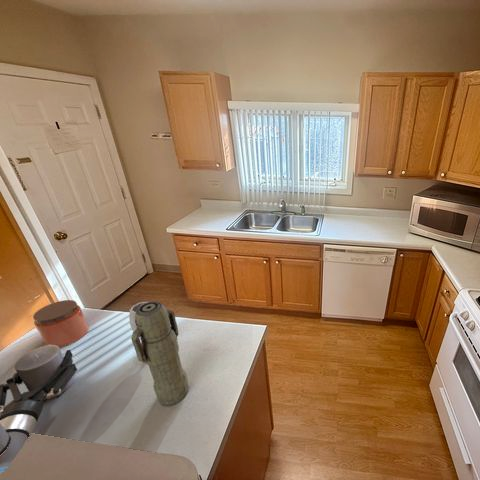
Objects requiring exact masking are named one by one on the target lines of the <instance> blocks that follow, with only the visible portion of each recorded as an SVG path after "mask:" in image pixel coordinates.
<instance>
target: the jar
mask: <svg viewBox="0 0 480 480" xmlns="http://www.w3.org/2000/svg"><path fill="white" fill-rule="evenodd" d="M82 310H83V309H82V308H81V306H80V305H78V303H77V301H75V300H73V299H65V300H64V299H63V300H59V301H55V302H53V303H50V304H47V305H45V306H43V307H41V308H40V309H38V310H37V311H36V312H35V313H34V314H33V316H32V318H33V321H34V322H33V324H34V326H35V329H36V331H37V332H38V334H39V336H40V337H41V339H42V341H43V343H44V346H47V345H56V346H58V347H59V348H62V347H65V346H69V345H72V344H73V343H76V342H77V341H79V340H81V339H82V338H83V337H84V336H86V334H87V333H88V332H89V330H90V327H89V324H88V321H87V319H86V317H85V314H84V313H83V311H82Z"/></svg>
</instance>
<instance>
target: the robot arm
mask: <svg viewBox="0 0 480 480" xmlns="http://www.w3.org/2000/svg"><path fill="white" fill-rule="evenodd" d="M73 356H74V355H73V353H72V351H71V349H67V350H66V352H65V353H64V355H63V357H64V358H63V361H62V363H61V365H60V366H61V368H60V369H59V370H58V371H57V372H56V373H55V374H54V375H53V376H52V377H51V378H49V379H48V380H47V381H46V382H45V383H44V384H41V385H40V386H39V387H38V388H37V389H34V390H32V391H24V392H22V393H21V391H20V388H19V385H22V384H23V381H22V379H21V378H20V376H19V374H18V373H17V372H15V373H14V374H13V375H12V377H10V378H8V379H6V380H5V382H6V383H1V384H0V455H1V454H2V453H3V452H4V451H5V450H6V451H5V452H4V453H3V454H2V455H1V456H0V474H1V473H2V472H4V471H5V469H7V468H8V467H9V466H10V464H11V462H12V461H13V460H14V458H15V457H16V455H17V454H18V452H19V451H20V449H21V448H22V447H23V445H24V443H25V441H26V440H27V439H28V437H29V436H30V435H31V436H32V434H33V432H34V429H35V427H36V425H37V423H38V421H39V418H40V417H41V413H42V411H43V409H44V406H45V403H47V401H49V400H50V399H49V398H52V397H54V396H55V398H56V399H58V398H60V397H62V395H63V393H62V391H63V389H64V388H65V386H66V385H67V383H68V382H69V381H70V379H71V378H72V376H73V377H74V375H75V374H76V372H77V371H78V368H77V366H76V364H75V363H73V362H74V360H73ZM53 387H54V388H53ZM42 389H43V390H42ZM9 390H10V393H11V396H12V397H13V399H12V400H11V401H10V402H9V403H7V404H6V400H7V396H8V391H9ZM48 399H49V400H48ZM52 399H53V398H52ZM31 433H32V434H31ZM29 434H30V435H29ZM31 436H30V437H31ZM10 441H11V442H10ZM9 444H10V445H9ZM7 447H8V448H7Z"/></svg>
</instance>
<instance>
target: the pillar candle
mask: <svg viewBox="0 0 480 480" xmlns="http://www.w3.org/2000/svg"><path fill="white" fill-rule="evenodd" d="M63 358H64V355H63V353H62V351H61V349H60V347H58V346H56V345H47V346H46V345H43V346H39V347H37V348H34V349H32V350H30V351H28V352H26V353H25V354H23V355H22V356H21V357H19V358H18V360H16V361H15V364H14V369H15V371H16V373H18V374H19V376H20V378H21V379H22V381H23V382H22V384H24V387H26V389H27V390H28V391H32V390H34V389H37V388H38V387H39V386H40V385H41V384H44V383H45V382H46V381H47V380H48V379H49V378H51V377H52V376H53V375H54V374H55V373H56V372H57V371H58V370H59V369H60V368H61V366H60V365H61V363H62V361H63ZM74 380H75V379H74V375H73V376H72V378H71V379H70V381H69V382H68V383H67V385H66V386H65V388H64V389H63V391H62V394H63V393H65V392H66V391H67V390H68V389H69V388H70V387H71V386H72V385H73V383H74ZM53 388H54V387H53ZM42 390H43V389H42ZM28 391H27V392H28ZM55 398H56V397H55V396H54V397H52V398H49V399H48V400H47V401H49V400H53V399H55Z"/></svg>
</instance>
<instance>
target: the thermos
mask: <svg viewBox="0 0 480 480" xmlns="http://www.w3.org/2000/svg"><path fill="white" fill-rule="evenodd" d="M147 302H148V301H147ZM135 323H136V326H137V328H136V330H135V331H133V332H132V335H131V338H130V339H131V342H132V345H133V348H134V351H135V353H136V356H137V360H138V361H139V362H141V363H145V364H147V366H148V368H149V371H150V373H151V376H152V377H151V378H152V381H153V390H154V393H155V396H156V398H157V400H158V403H159V404H160V405H161V406H162V407H163V406H164V407H172V406H176V405H177V404H179V403H180V402H182V400H184V399H185V398H186V396H187V395H188V393H189V389H190V387H189V384H188V383H189V380H188V377H187V373H186V371H185V369H184V368H183V365H182V361H181V357H180V352H179V351H180V345H179V342H178V337H179V328H178V324H177V319H176V316H175V312H174V311H173V310H169V309H167V308H166V307H165V306H164V305H163V303H162V302H160V301H149V302H148V303H145V304H143V305H141V306H140V307H139V308H138V309H137V310H136V314H135Z"/></svg>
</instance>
